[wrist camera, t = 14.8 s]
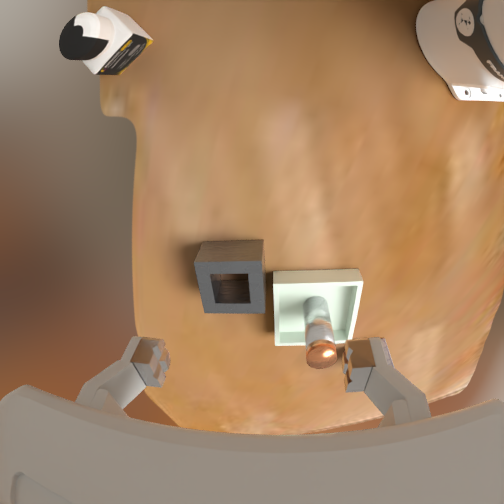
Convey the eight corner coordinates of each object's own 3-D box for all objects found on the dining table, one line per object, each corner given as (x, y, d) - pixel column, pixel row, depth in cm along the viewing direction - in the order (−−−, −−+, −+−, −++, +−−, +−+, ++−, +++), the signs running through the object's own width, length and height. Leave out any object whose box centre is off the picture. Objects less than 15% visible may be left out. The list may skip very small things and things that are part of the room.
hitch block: (263, 239, 44) (261, 260, 39) (266, 289, 49) (264, 313, 44) (203, 241, 45) (193, 262, 40) (211, 289, 50) (204, 313, 45)
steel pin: (328, 295, 48) (339, 348, 38) (326, 314, 50) (335, 367, 40) (303, 296, 48) (307, 350, 38) (302, 315, 50) (305, 369, 40)
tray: (358, 268, 46) (363, 281, 43) (347, 329, 53) (351, 342, 50) (273, 271, 47) (273, 283, 44) (275, 332, 54) (275, 345, 51)
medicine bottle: (120, 76, 33) (70, 76, 22) (95, 48, 30) (43, 44, 20) (155, 41, 30) (112, 26, 20) (128, 14, 28) (81, -3, 17)
